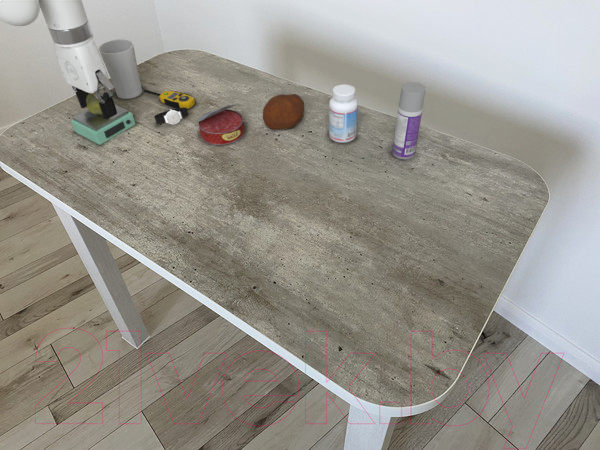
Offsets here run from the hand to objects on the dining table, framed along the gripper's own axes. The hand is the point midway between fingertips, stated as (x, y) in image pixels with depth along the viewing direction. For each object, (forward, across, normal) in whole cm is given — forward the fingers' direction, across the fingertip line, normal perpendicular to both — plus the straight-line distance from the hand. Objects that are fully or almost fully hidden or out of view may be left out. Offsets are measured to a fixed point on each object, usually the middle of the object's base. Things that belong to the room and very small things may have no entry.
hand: (99, 110), depth 108 cm
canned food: (+5, +24, +14) cm, 28 cm away
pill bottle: (+5, +46, +28) cm, 54 cm away
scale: (+5, 0, 0) cm, 5 cm away
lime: (+1, 0, 0) cm, 1 cm away
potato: (+5, +34, +24) cm, 41 cm away
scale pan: (+2, 0, 0) cm, 2 cm away
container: (+5, +60, +30) cm, 68 cm away
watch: (+5, +10, +11) cm, 16 cm away
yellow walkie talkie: (+5, +2, +17) cm, 18 cm away
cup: (+5, -8, +14) cm, 17 cm away
